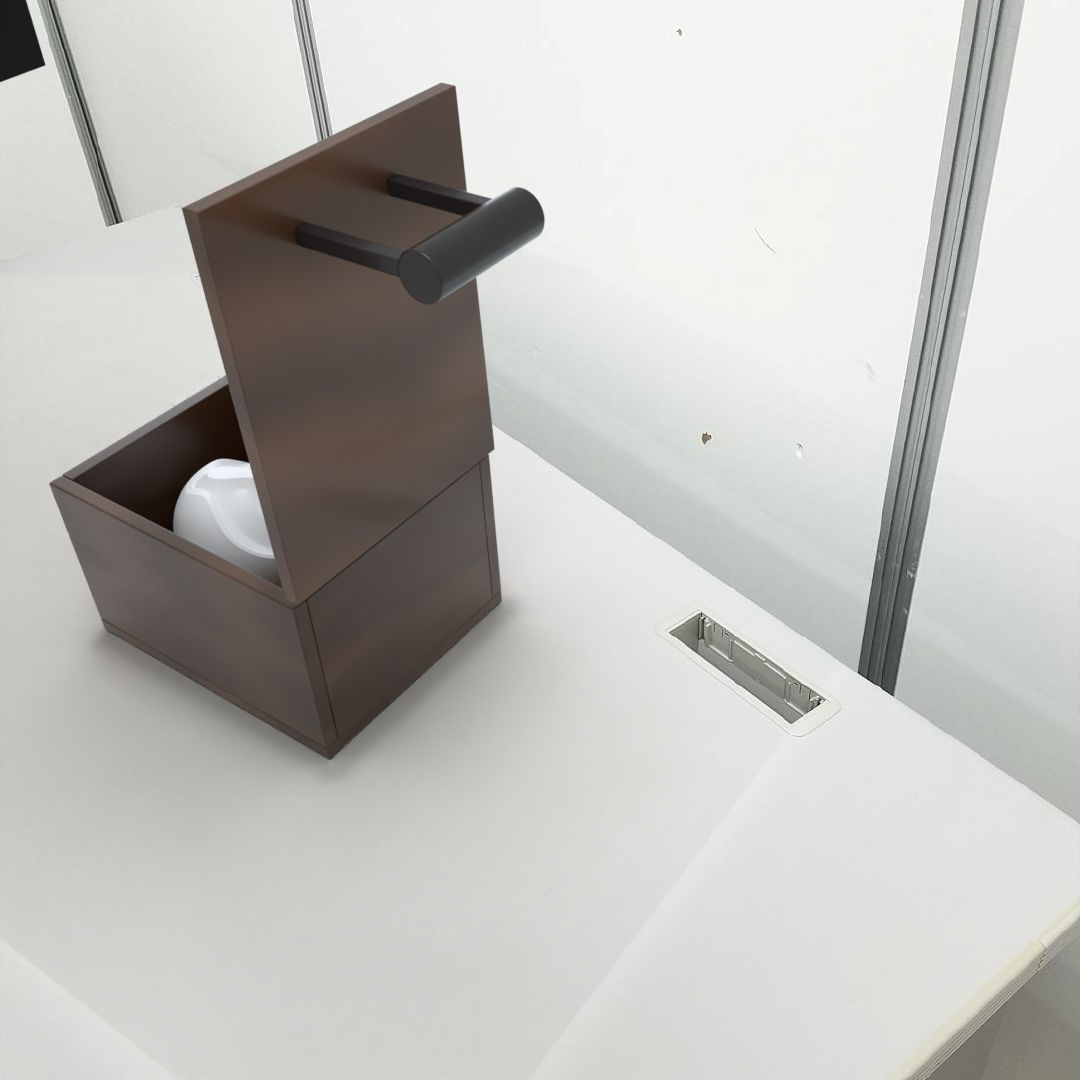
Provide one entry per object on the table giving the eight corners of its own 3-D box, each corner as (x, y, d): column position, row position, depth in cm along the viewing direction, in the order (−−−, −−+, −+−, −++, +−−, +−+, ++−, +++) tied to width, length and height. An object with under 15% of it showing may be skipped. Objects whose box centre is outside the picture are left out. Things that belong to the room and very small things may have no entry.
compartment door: (180, 207, 42) (352, 261, 38) (440, 81, 50) (601, 116, 46) (285, 599, 53) (424, 668, 50) (482, 444, 61) (614, 493, 58)
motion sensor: (333, 626, 65) (308, 510, 60) (186, 643, 65) (148, 527, 60) (334, 531, 71) (311, 419, 66) (199, 546, 71) (166, 433, 66)
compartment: (104, 628, 67) (47, 482, 60) (285, 499, 75) (252, 358, 69) (329, 760, 60) (293, 610, 53) (502, 600, 68) (489, 454, 61)
